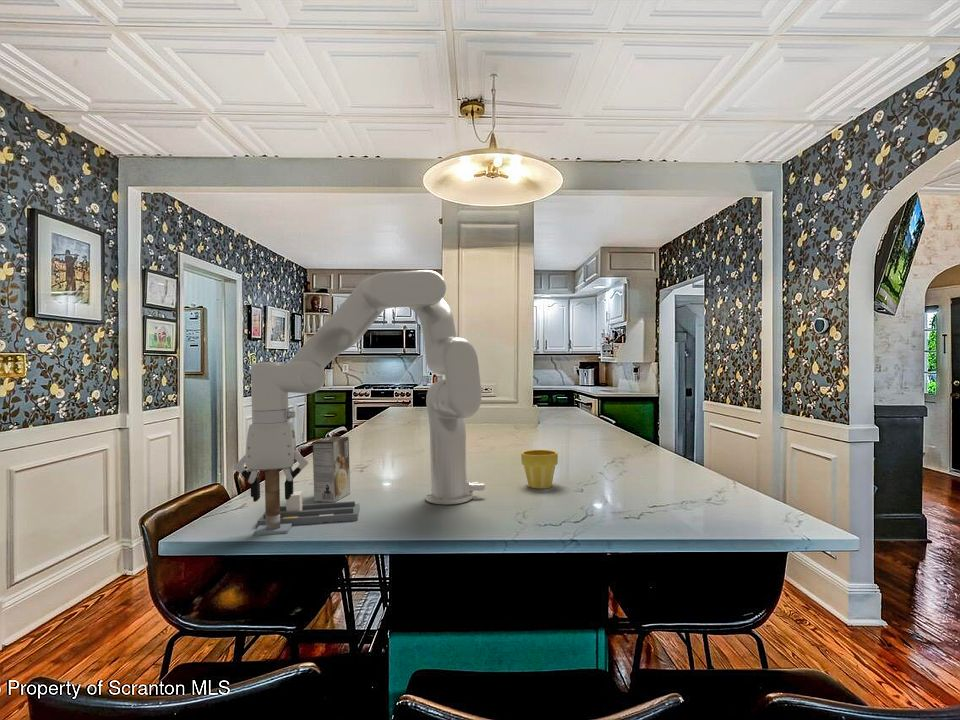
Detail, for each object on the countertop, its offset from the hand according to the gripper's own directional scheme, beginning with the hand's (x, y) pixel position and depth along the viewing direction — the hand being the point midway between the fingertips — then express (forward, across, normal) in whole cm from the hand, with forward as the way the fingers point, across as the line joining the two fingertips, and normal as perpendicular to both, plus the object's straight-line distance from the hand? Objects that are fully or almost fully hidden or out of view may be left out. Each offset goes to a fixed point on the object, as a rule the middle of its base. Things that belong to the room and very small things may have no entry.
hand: (272, 498), depth 116 cm
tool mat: (+7, 0, 0) cm, 7 cm away
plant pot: (+7, -68, -24) cm, 72 cm away
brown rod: (+7, 0, 0) cm, 7 cm away
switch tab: (+5, -3, -7) cm, 10 cm away
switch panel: (+7, -7, -8) cm, 13 cm away
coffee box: (+7, -10, -26) cm, 28 cm away
